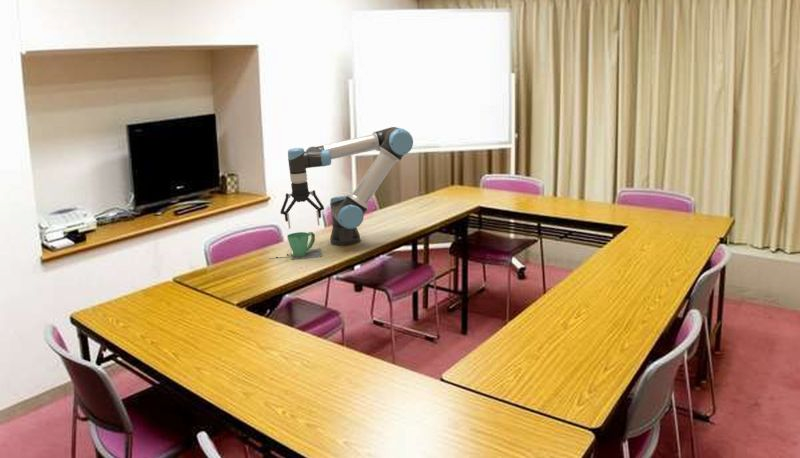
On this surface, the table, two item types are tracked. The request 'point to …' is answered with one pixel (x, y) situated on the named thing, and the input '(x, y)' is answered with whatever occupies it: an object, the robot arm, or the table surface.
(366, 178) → the robot arm
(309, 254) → the slate mat
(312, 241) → the mug
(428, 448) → the table surface
